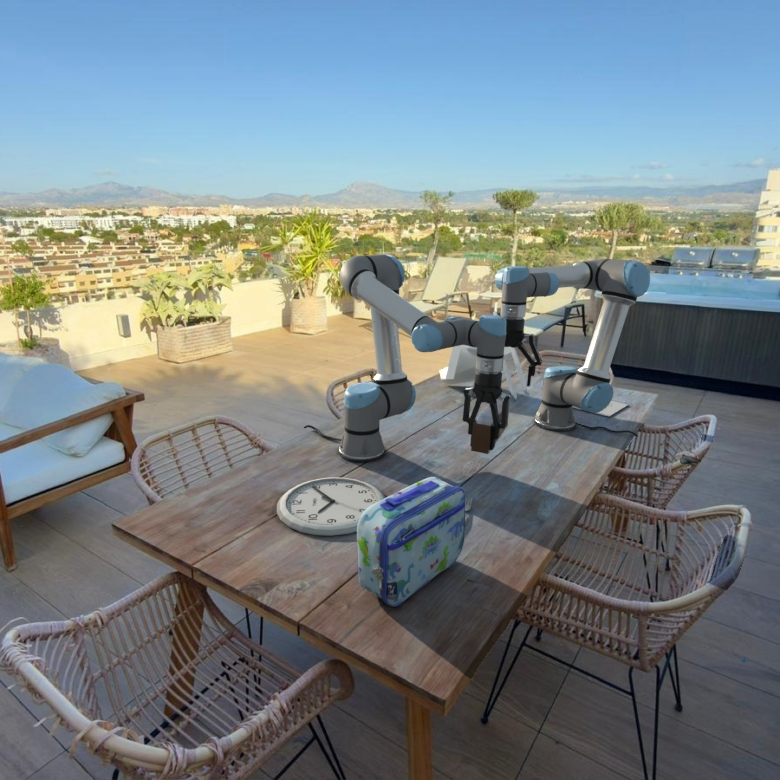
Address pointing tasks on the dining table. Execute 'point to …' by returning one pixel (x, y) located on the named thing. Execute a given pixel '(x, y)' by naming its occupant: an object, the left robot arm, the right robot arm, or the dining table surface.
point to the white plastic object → (465, 367)
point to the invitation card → (611, 408)
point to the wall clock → (327, 505)
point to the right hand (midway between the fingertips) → (507, 382)
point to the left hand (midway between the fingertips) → (482, 446)
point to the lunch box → (410, 539)
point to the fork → (467, 507)
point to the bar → (485, 429)
